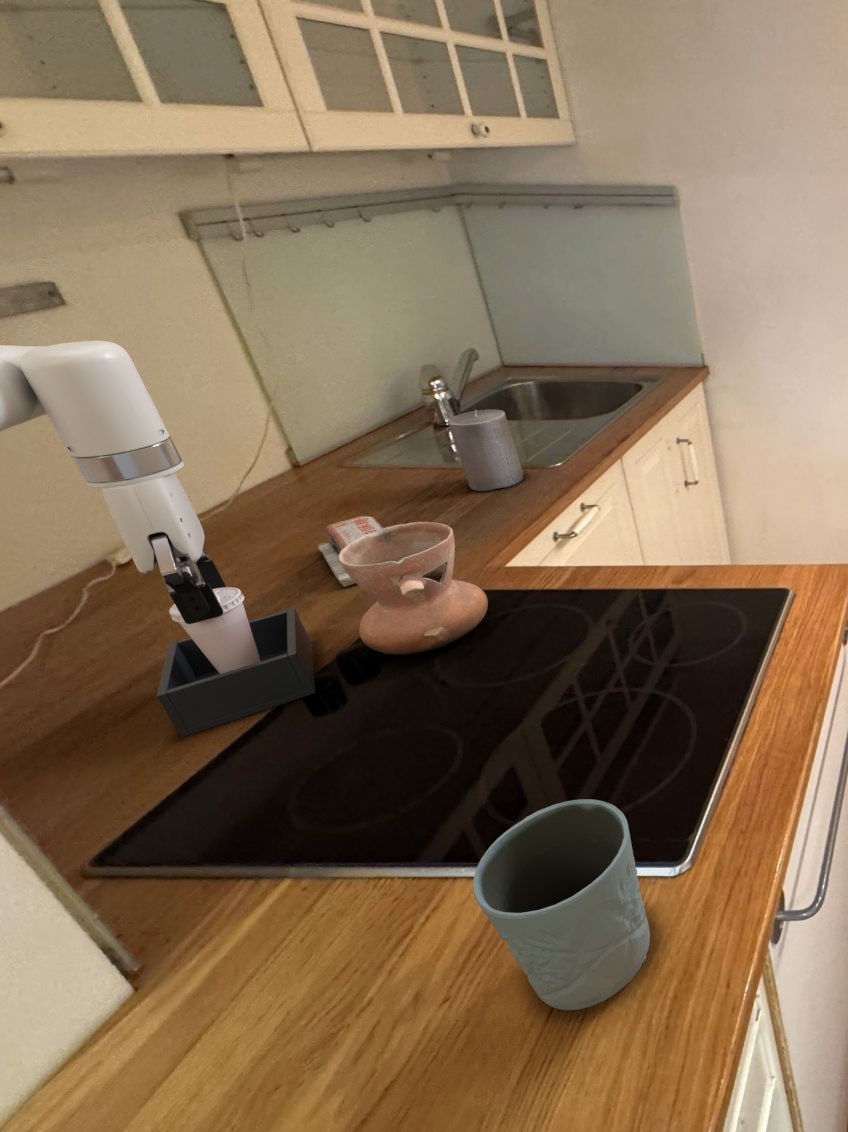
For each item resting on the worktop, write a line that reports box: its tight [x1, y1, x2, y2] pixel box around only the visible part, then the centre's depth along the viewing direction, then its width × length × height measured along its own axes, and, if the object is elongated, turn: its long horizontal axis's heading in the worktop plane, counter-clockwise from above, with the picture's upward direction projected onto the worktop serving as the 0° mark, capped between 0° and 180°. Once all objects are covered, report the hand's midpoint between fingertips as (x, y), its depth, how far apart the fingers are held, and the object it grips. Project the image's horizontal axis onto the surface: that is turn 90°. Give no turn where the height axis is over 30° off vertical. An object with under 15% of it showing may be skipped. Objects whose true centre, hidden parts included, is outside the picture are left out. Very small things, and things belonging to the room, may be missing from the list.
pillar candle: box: [447, 408, 525, 492], centre depth 150 cm, size 10×10×15 cm
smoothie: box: [168, 567, 261, 674], centre depth 90 cm, size 6×6×14 cm
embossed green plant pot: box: [472, 798, 651, 1011], centre depth 58 cm, size 10×10×12 cm
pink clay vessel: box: [339, 521, 489, 656], centre depth 101 cm, size 18×14×14 cm
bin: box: [156, 607, 316, 738], centre depth 93 cm, size 12×14×6 cm
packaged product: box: [317, 515, 388, 588], centre depth 123 cm, size 18×5×10 cm
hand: (207, 605), depth 89 cm, fingers closed on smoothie, 6 cm apart
